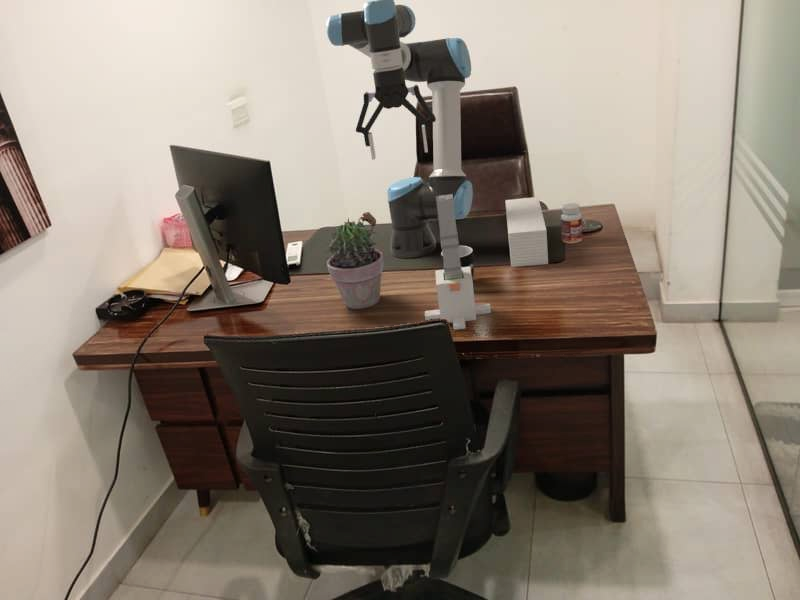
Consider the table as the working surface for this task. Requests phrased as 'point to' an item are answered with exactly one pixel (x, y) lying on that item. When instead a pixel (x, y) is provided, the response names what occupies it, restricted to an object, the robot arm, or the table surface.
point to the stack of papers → (526, 232)
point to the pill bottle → (571, 223)
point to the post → (449, 237)
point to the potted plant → (356, 264)
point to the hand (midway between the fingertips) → (400, 155)
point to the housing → (456, 300)
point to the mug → (464, 258)
